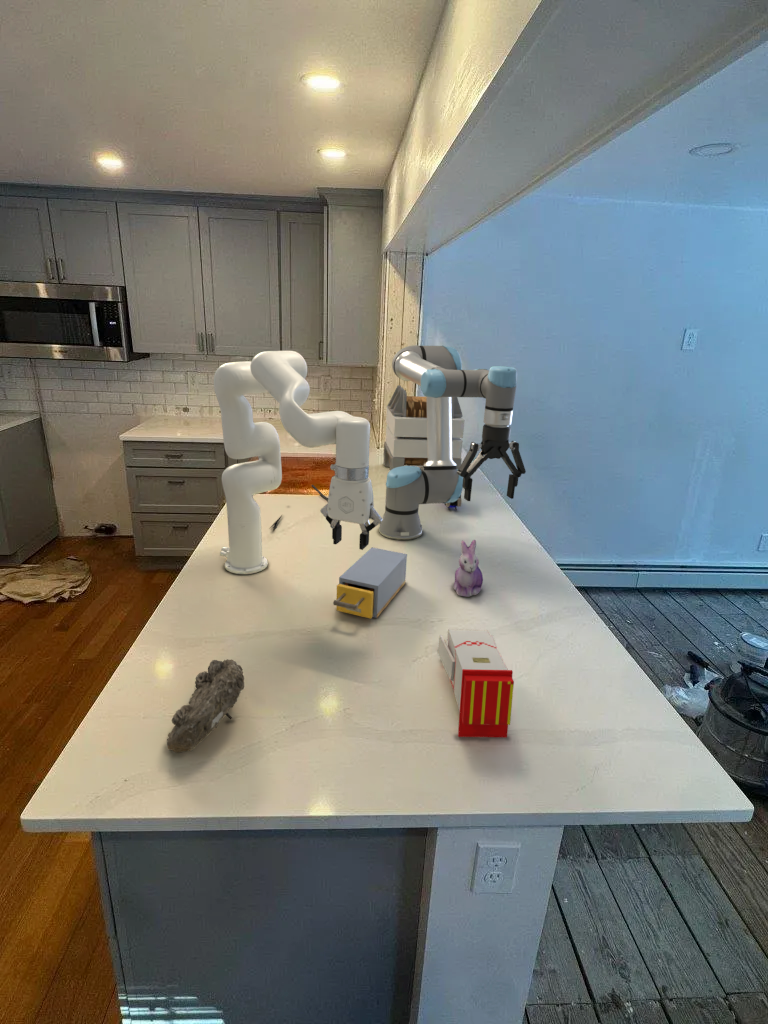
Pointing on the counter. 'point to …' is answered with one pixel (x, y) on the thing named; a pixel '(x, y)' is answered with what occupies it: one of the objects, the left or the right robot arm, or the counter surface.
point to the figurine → (468, 572)
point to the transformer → (415, 431)
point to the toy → (478, 682)
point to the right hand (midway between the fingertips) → (488, 498)
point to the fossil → (206, 705)
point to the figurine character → (454, 504)
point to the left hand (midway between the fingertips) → (350, 544)
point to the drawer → (355, 600)
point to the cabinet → (378, 575)
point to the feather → (275, 523)
